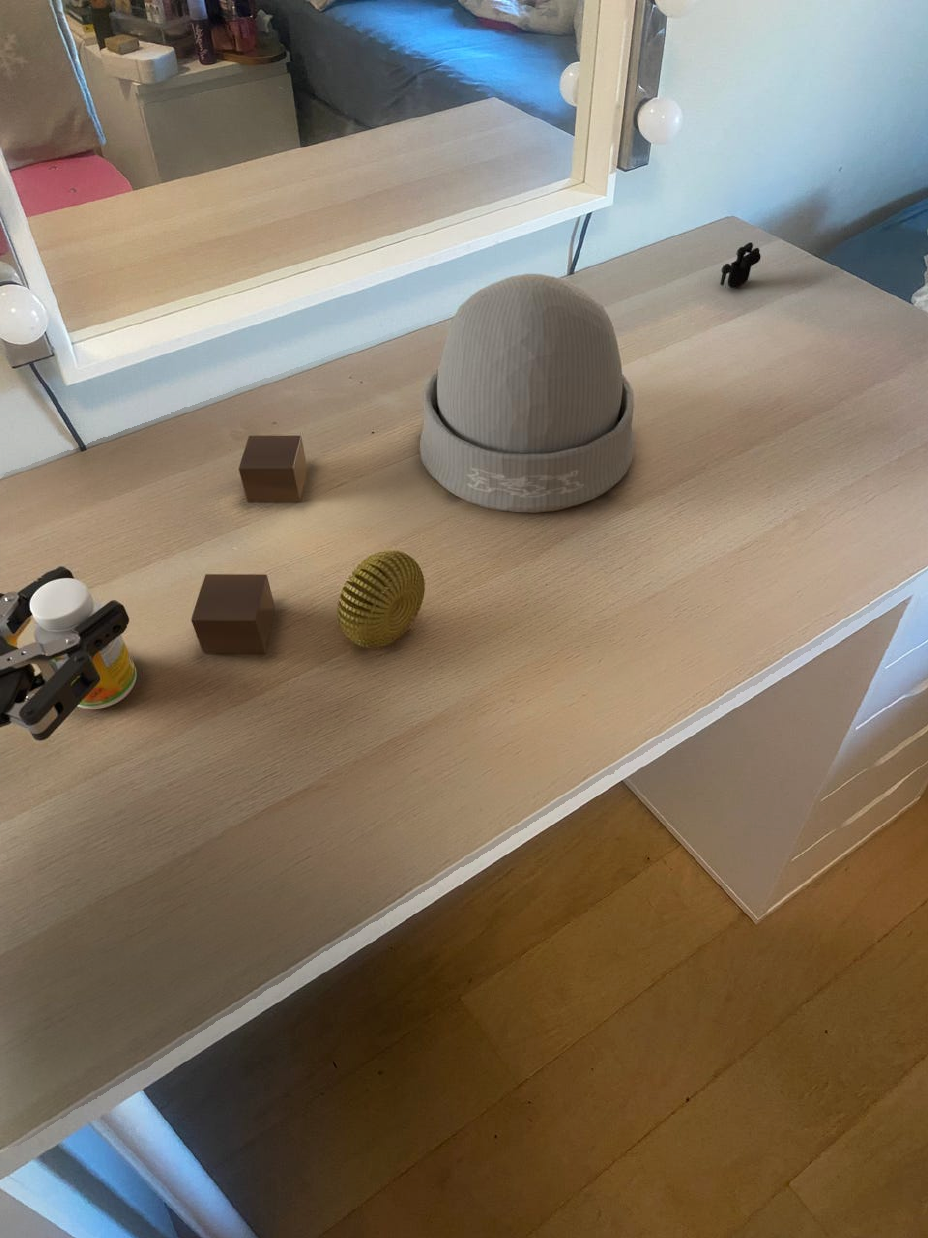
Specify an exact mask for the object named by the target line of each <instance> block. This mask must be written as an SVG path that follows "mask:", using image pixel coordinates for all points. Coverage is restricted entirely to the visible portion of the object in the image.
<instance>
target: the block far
mask: <svg viewBox="0 0 928 1238" xmlns="http://www.w3.org/2000/svg"><path fill="white" fill-rule="evenodd" d="M247 437H248V438H247V441H246V443H245V446H244V450H243V454H242V455H241V459H240V462H239V466H238V471H239V475H240V480H241V483H242V487H243V491H244V495H245V499H246V502H247V503H301V499H302V495H303V490H304V487H305V482H306V477H307V473H308V463H307V459H306V454H305V448H304V443H303V438H302V435H248V436H247Z"/></svg>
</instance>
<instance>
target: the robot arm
mask: <svg viewBox="0 0 928 1238" xmlns="http://www.w3.org/2000/svg"><path fill="white" fill-rule="evenodd" d="M63 578H72V579H75V576H74V575H73V573H72V571H71V570H70V569H68V568H66V567H65V566H61V565H60V566H58V567H56V568H54V569H52V570H49V571H47V572H45V573H43V574H42V575H41V576H40V577H38V578H37V579H36V580H33V581H32V582H31V583H29V584H27V586H25V587H24V588H22V589H21V590H19V591H18V592H16V591H9V592H8V591H7V592H6V593H1V592H0V728H3V727H6V726H8V725H10V724H15V725H18V726H20V727H22V728H25V729H27V730H28V731H29V732H30V734H31V736H32V738H33V739H34V740H36V741H38V742H39V741H45V740H47V739H48V738H50V737H51V735H53V733H54V732H55V731H56V730H57V729H58V728H59V727H60V726H61V725H62V724H63V722H64V721H65V720H66V719H67V718H68V717H69V716H70V715H71V714H72V713H73V711H74V710H75V709H76V708H77V707H78V705H79V704H80V703H81V701H82V700H83V699H84V698H85V697H86V696H87V695H88V694H89V693H90V692H91V690H92V689H93V688H94V687H95V686H96V685H97V684H98V683H99V681H100V675H99V673H98V672H97V670H96V668H95V666H94V664H93V657H94V656H95V654H96V653H98V652H99V651H100V650H101V649H103V648H104V647H105V646H107V645H108V644H109V643H110V642H112V640H114V639H116V637H118V636H119V635H121V636H122V634H124V633H125V631H126V630H127V628H128V624H129V622H130V617H129V615H128V613H127V610H126V608H125V605H124V604H122V603H120V602H119V601H117V600H116V599H113V600H110V601H109V602H108V603H106V604H104V605H105V606H103V607H102V608H101V609H99V610H98V611H97V612H95V613H94V614H93V615H91V616H90V617H89V618H87V619H86V620H85V621H83V622H82V623H81V624H79V625H78V626H77V627H75V628H74V629H73V632H74V633H72V634H68V635H66V636H63V637H61V638H58V639H56V640H53V641H51V642H48V643H46V644H41V643H39V642H36V641H34V642H32V643H28V644H27V645H23V646H22V647H18V639H19V637H20V636H21V635H22V634H23V632H24V631H25V629H26V628H28V626H29V625H30V623H31V622H32V616H33V614H32V612H31V610H30V600H31V598H32V596H33V594H34V593H35V592H36V591H37V590H38V589H39V588H40V587H42V586H43V585H45V584H47V583H49V582H51V581H54V580H57V579H63ZM65 654H67V655H68V657H67V658H64V659H62V660H60V661H57V662H51V660H53V659H55V658H57V657H60V656H62V655H65ZM33 664H34V665H36V666H37V668H38V669H39V670H40V672H39V673H38V674H35V672H36V669H35V668H34V666H33ZM78 676H79V677H78ZM77 677H78V678H77ZM76 678H77V680H76V681H75V682H74V683H73V684H72V682H73V681H74V680H75V679H76ZM71 684H72V685H71Z"/></svg>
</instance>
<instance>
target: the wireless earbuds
mask: <svg viewBox="0 0 928 1238" xmlns="http://www.w3.org/2000/svg"><path fill="white" fill-rule="evenodd" d="M761 256H762V255H761V253H760V248H759V247H755V248H754V244H753V242H751V241H750V242H748V243H746V244H744V246H740V247H739V248H738V249H737V251H736V260H735V261H733V262H731V264H729V263H725V264H723V266H722V268H721V278H720V284H719V285H720V286H722V287H723V286H725V281H726V277H727V274H728V278H727V285H728V287H729V288H731V289H736V288H738V287H740V286H741V285H743V284H745V283H746V282H747V281H748V280H749V278H750V275H751V274H750V273H751V269H752V267H753V266H755V265H756V264H758V263H759V262H760V260H761V258H762V257H761Z"/></svg>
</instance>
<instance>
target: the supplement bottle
mask: <svg viewBox="0 0 928 1238" xmlns="http://www.w3.org/2000/svg"><path fill="white" fill-rule="evenodd" d="M105 605H106V604H105V603H103V602H102V601H101V600H99V599H97V598H94V597H93V595H92V593H91V592H90V590H89V588H88V586H87V585H86V583H84V582H83V581H81V580H80V579H76V578H74V579H72V578H63V579H57V580H54V581H51V582H49V583H47V584H45V585H43V586H42V587H40V588H39V589H38V590H37V591H36V592H35V593H34V594H33V596H32V598H31V600H30V610H31V612H32V614H33V615H32V616H33V619H34V620H35V626H34V629H33V636H34V640H35V642H39V643H41V644H46V643H48V642H51V641H53V640H56V639H58V638H61V637H63V636H66V635H68V634H72V633H74V632H73V629H74V628H75V627H77V626H78V625H79V624H81V623H82V622H83V621H85V620H86V619H87V618H89V617H90V616H91V615H93V614H94V613H95V612H97V611H98V610H99V609H101V608H102V607H103V606H105ZM67 657H68V655H67V654H65V655H62V656H60V657H57V658H55V659H53V660H51V662H57V661H60V660H62V659H64V658H67ZM93 664H94V666H95V668H96V670H97V672H98V673H99V675H100V681H99V683H98V684H97V685H96V686H95V687H94V688H93V689H92V690H91V692H90V693H89V694H88V695H87V696H86V697H85V698H84V699H83V700H82V701H81V703H80V704H79V705H78V706H77V707H79V708H81V709H85V710H100V709H105V708H109V707H111V706H113V705H115V704H117V703H119V702H120V701H122V700H123V699H124V698H126V697H127V696H128V695H129V694H130V692H132V689H133V688H134V686H135V684H136V682H137V674H138V673H137V667H136V666H135V663H134V660H133V658H132V656H131V654H130V652H129V650H128V648H127V645H126V643H125V641H124V638H123V636H122V634H121V635H119V636H118V637H116V639H114V640H112V642H110V643H109V644H108V645H107V646H105V647H104V648H103V649H101V650H100V651H99V652H98V653H96V654H95V656H94V657H93ZM78 677H79V676H78ZM78 677H77V678H78ZM77 678H76V679H75V680H74V681H73V682H72V684H73V683H74V682H75V681H76V680H77ZM72 684H71V685H72Z"/></svg>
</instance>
